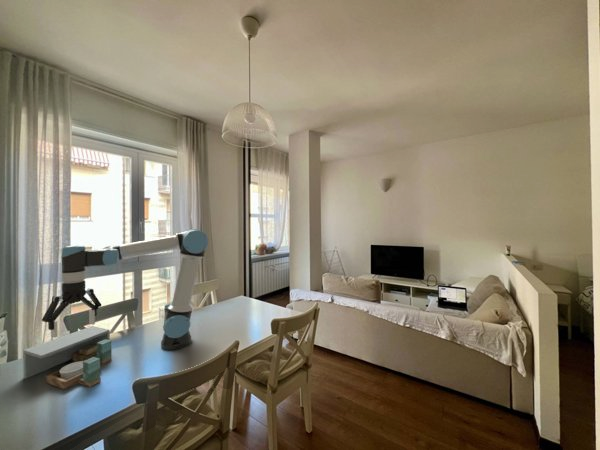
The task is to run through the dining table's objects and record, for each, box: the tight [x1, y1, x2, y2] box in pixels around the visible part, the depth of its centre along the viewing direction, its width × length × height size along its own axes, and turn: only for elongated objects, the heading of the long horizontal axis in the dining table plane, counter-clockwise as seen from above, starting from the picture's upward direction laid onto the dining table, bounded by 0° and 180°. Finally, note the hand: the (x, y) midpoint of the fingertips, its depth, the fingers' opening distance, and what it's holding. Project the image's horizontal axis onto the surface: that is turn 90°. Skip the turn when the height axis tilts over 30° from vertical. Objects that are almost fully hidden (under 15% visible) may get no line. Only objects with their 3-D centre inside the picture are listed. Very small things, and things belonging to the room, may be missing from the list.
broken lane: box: [72, 339, 113, 366], centre depth 122 cm, size 18×9×10 cm, turn 70°
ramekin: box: [59, 361, 83, 380], centre depth 108 cm, size 9×9×4 cm
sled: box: [45, 357, 102, 391], centre depth 106 cm, size 20×13×10 cm, turn 70°
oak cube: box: [80, 345, 97, 356], centre depth 123 cm, size 5×5×5 cm
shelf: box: [22, 325, 111, 379], centre depth 117 cm, size 14×26×12 cm, turn 160°
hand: (74, 330), depth 107 cm, fingers open, 13 cm apart
